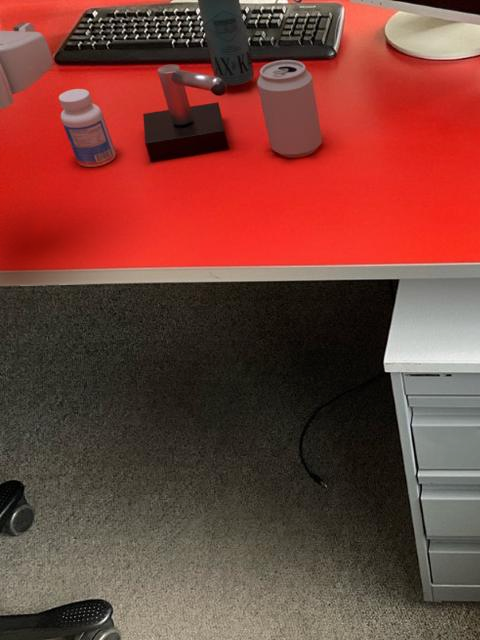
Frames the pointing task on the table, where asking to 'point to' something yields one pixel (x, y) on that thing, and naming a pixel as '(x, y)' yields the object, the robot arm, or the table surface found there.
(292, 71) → the can
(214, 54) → the beverage bottle
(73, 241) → the table surface
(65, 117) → the pill bottle
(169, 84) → the spout
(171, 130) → the tap base
